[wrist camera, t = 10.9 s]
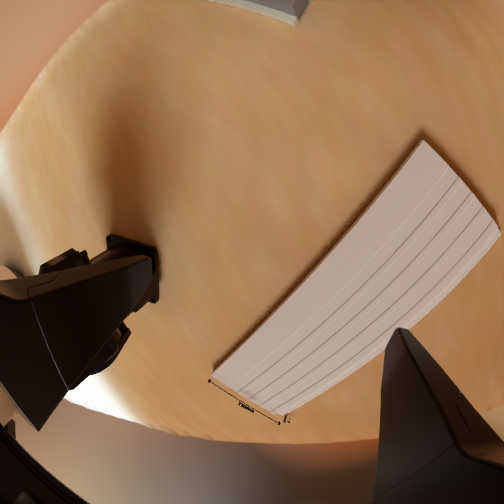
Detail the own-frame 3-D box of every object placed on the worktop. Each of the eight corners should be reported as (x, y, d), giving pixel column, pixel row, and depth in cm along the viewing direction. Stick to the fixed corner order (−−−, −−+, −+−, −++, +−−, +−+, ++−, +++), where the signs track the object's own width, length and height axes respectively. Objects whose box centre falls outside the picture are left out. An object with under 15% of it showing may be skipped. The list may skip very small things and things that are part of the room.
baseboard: (504, 241, 17) (417, 139, 17) (519, 254, 14) (429, 140, 14) (293, 415, 32) (215, 366, 32) (288, 433, 29) (205, 383, 29)
